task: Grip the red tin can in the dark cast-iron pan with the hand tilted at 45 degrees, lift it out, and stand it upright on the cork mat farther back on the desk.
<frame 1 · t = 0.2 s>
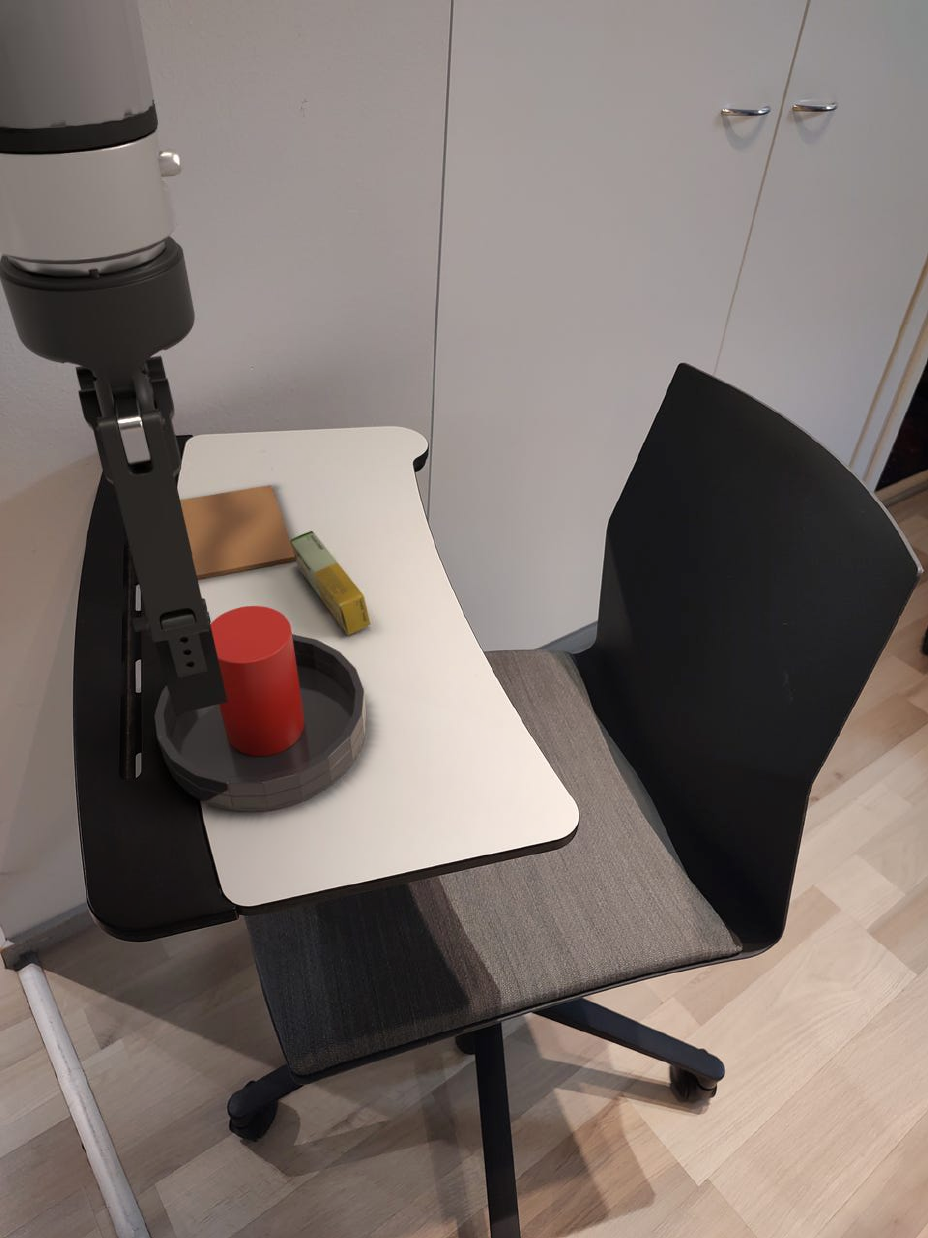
hand: (184, 623, 51), 22 cm above the table, tool pointing down, fingers open, 13 cm apart
pan: (266, 730, 73), on the table
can: (265, 726, 73), resting on pan
mat: (217, 534, 94), on the table
medication box: (331, 600, 86), on the table
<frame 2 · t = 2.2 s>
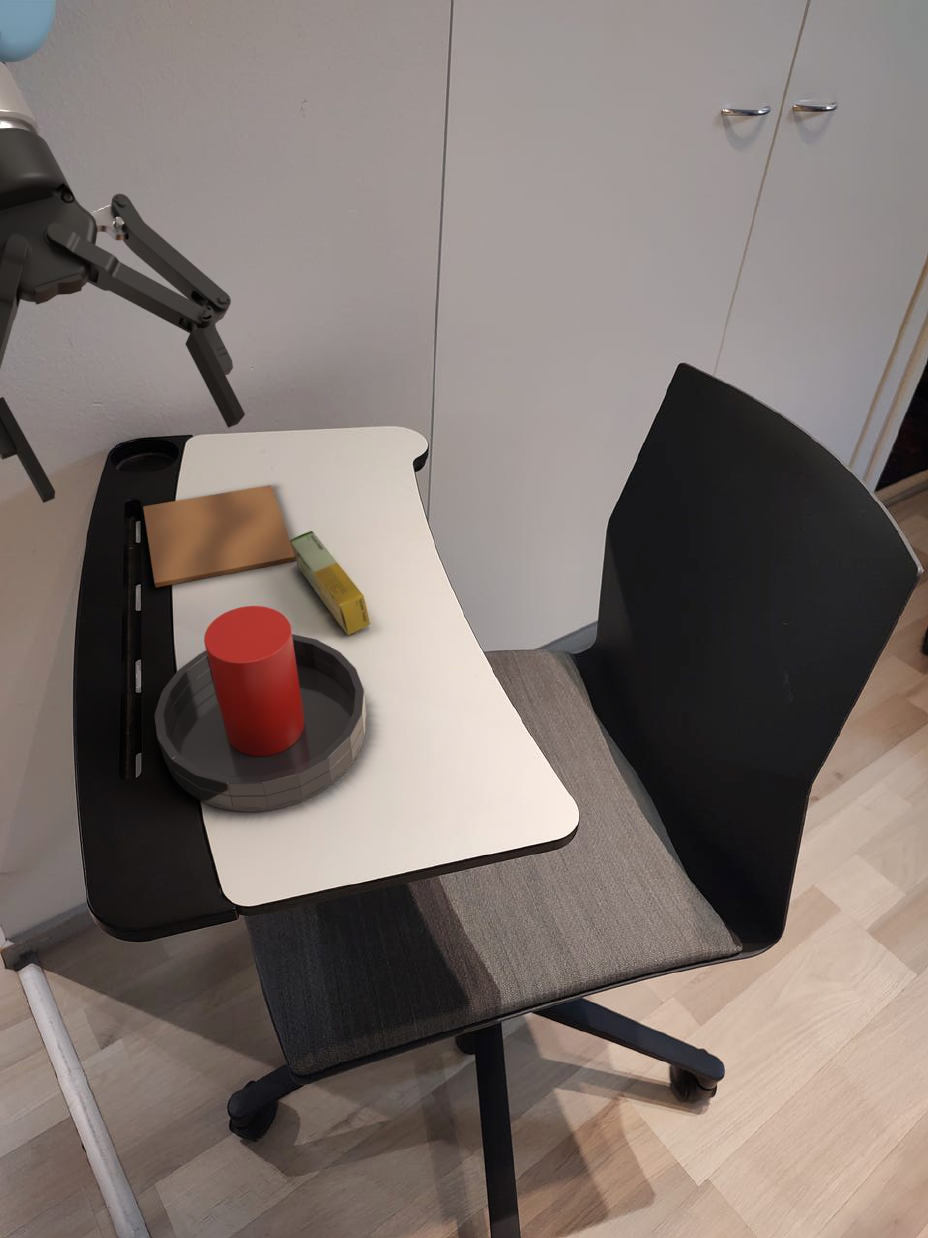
hand: (147, 458, 60), 24 cm above the table, tool tilted 40°, fingers open, 13 cm apart
nothing on the table moved.
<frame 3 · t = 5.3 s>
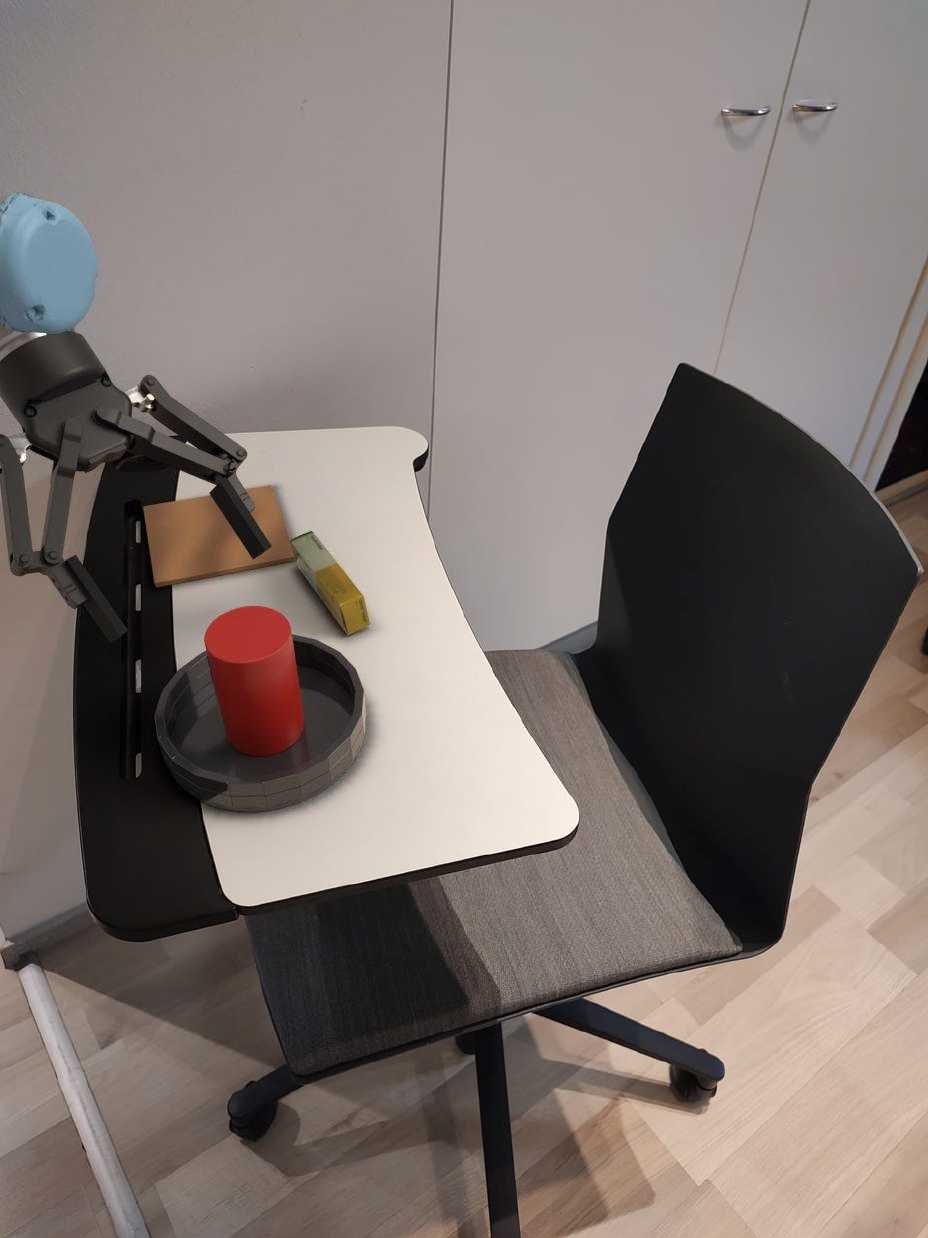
hand: (195, 593, 69), 11 cm above the table, tool tilted 45°, fingers open, 13 cm apart
nothing on the table moved.
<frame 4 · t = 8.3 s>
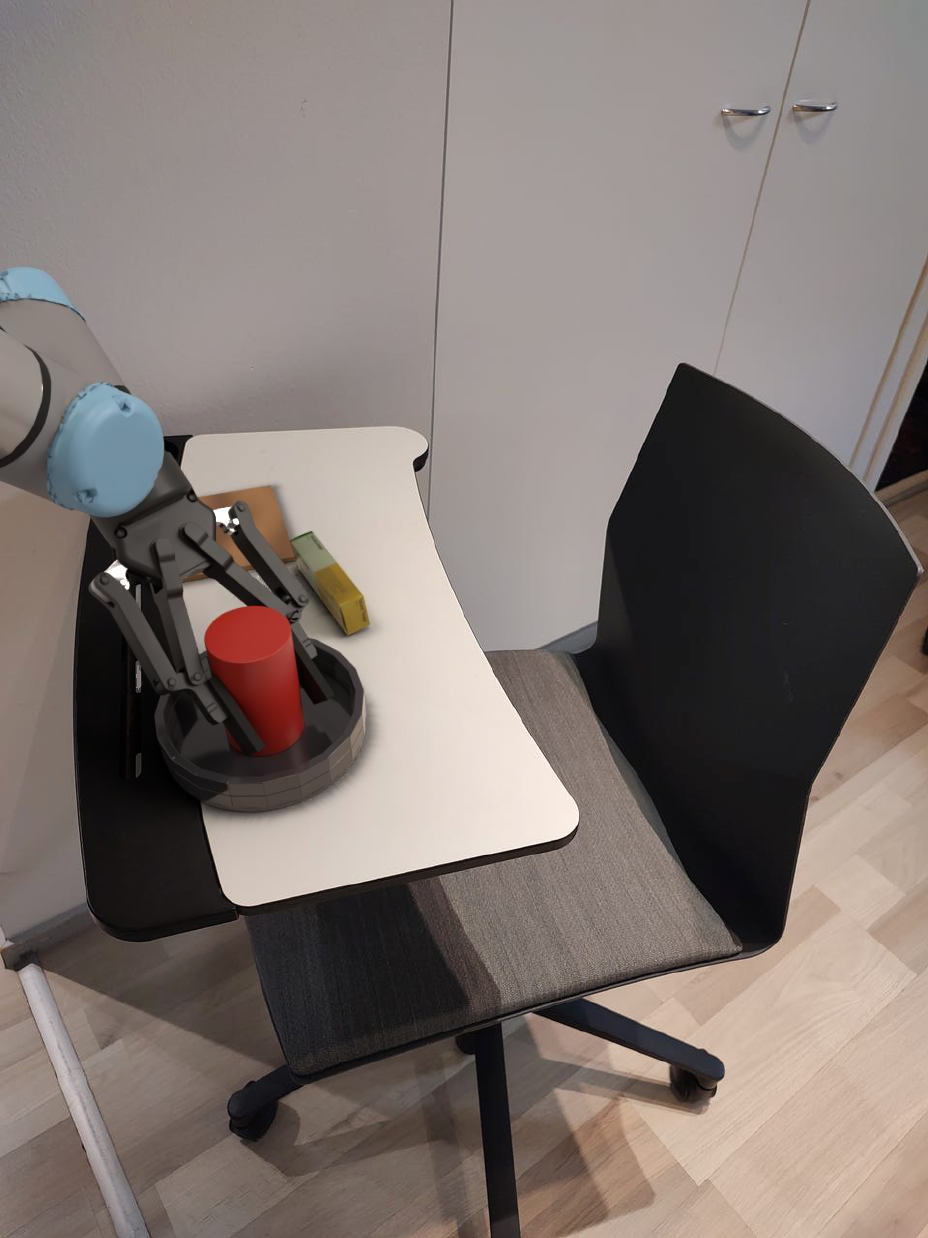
hand: (290, 724, 69), 3 cm above the table, tool tilted 45°, fingers closed on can, 6 cm apart
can: (265, 726, 73), point 1 cm above the table, touching gripper, pan
everything else where it was.
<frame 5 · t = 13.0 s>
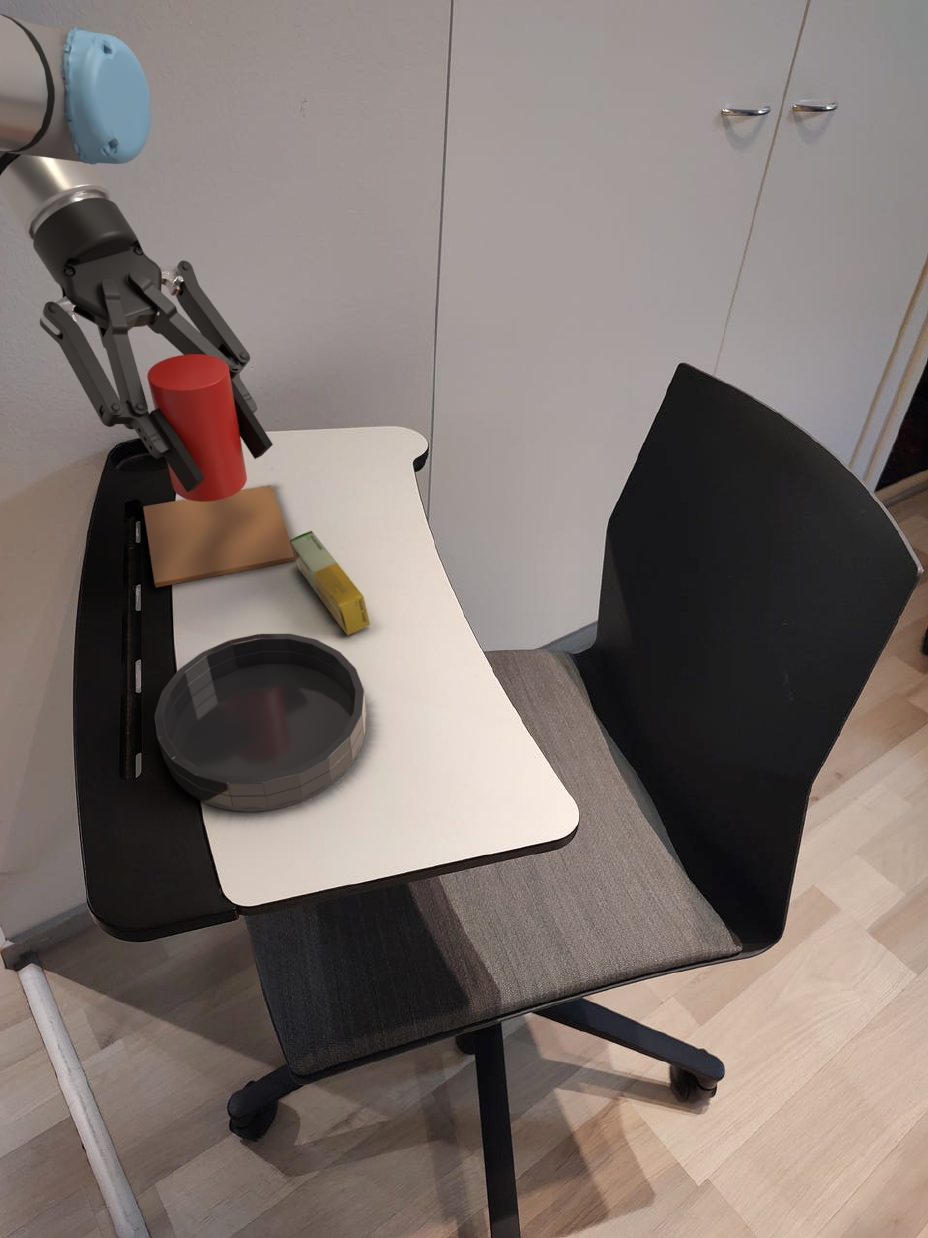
hand: (230, 467, 75), 16 cm above the table, tool tilted 45°, fingers closed on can, 6 cm apart
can: (210, 481, 78), point 13 cm above the table, touching gripper
everything else where it was.
when the fingers open (4 cm above the table, at t = 17.9 s): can stays where it is, resting on mat.
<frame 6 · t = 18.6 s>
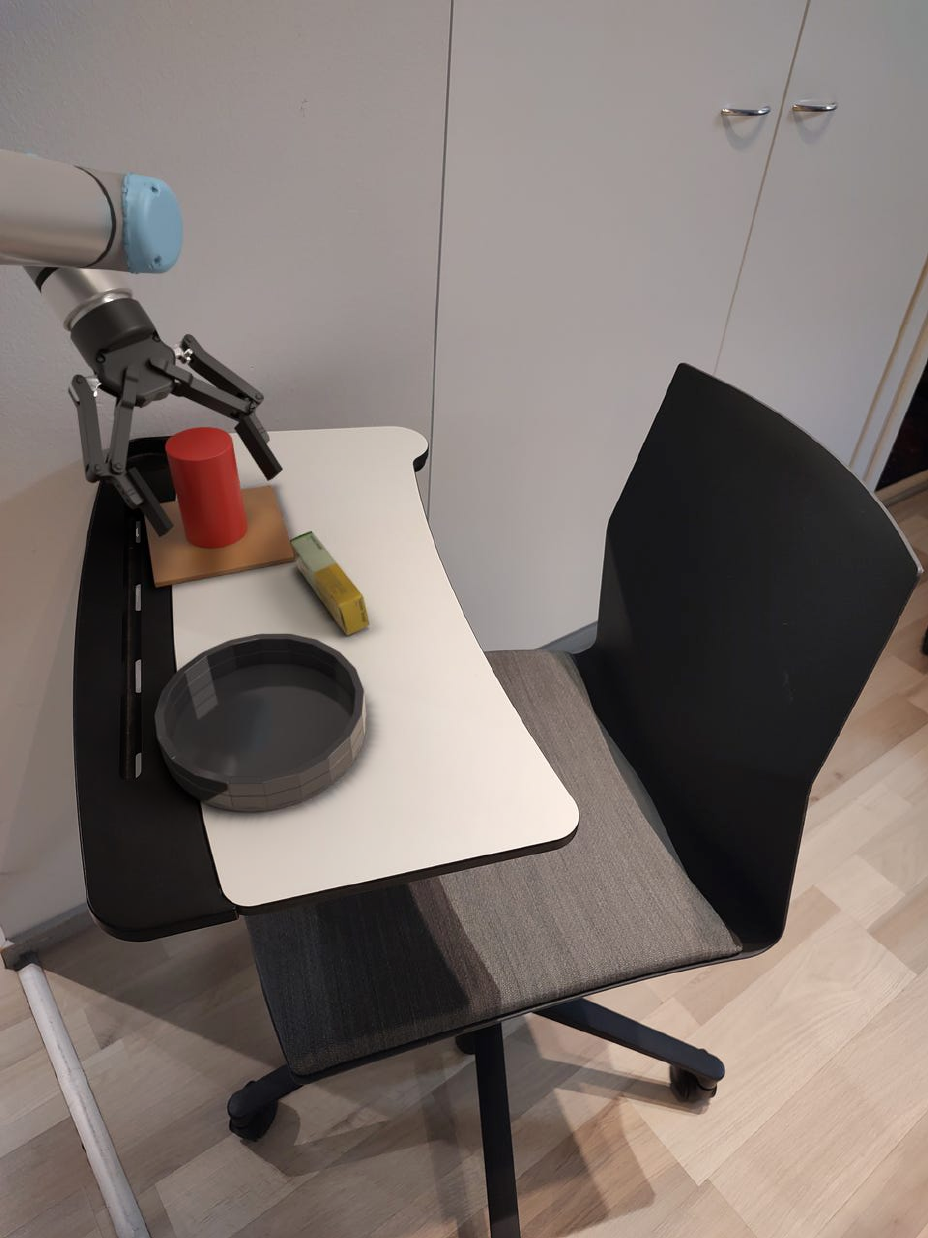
hand: (223, 502, 89), 5 cm above the table, tool tilted 45°, fingers open, 13 cm apart
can: (216, 530, 93), point 1 cm above the table, touching mat
everything else where it was.
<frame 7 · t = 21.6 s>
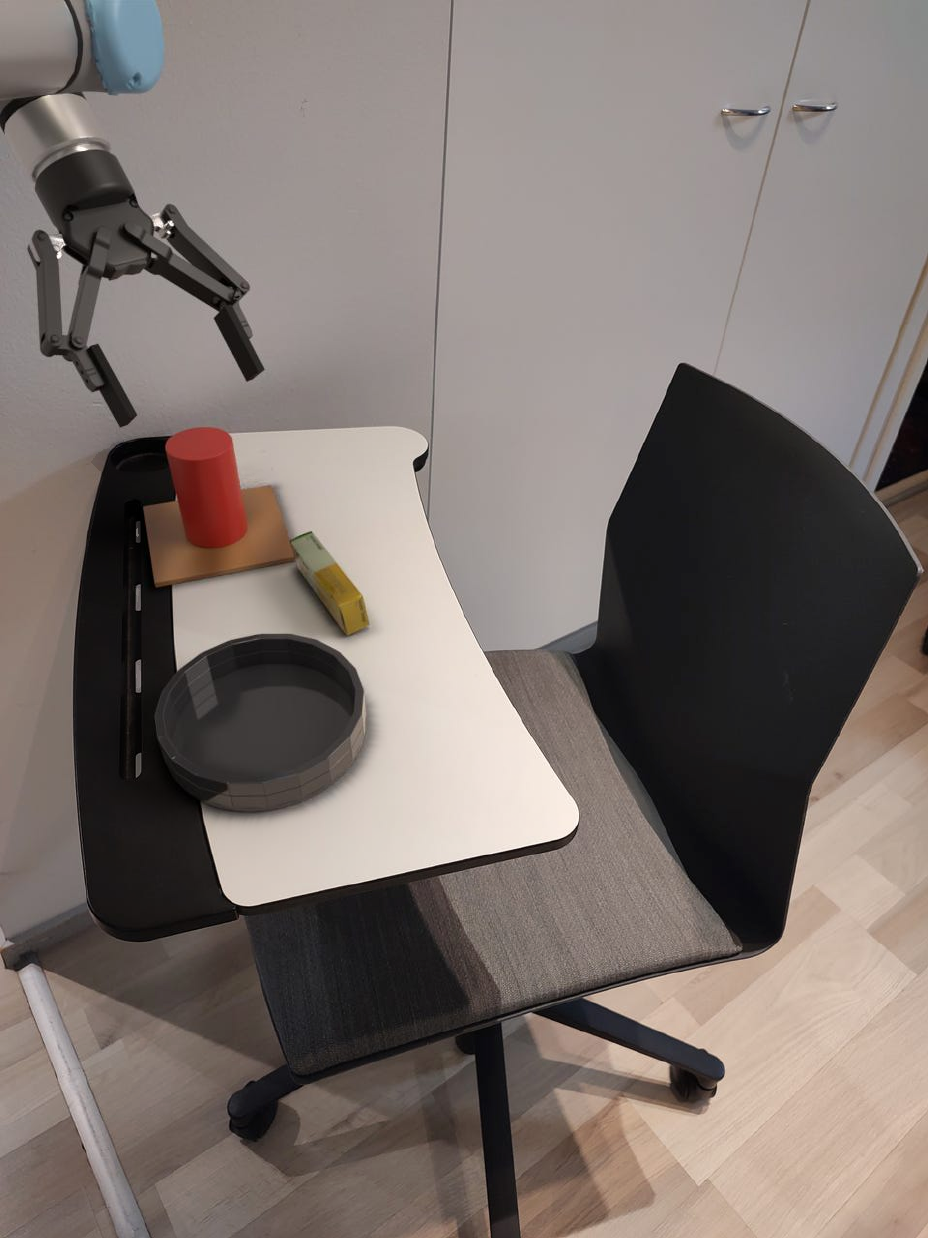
hand: (195, 397, 80), 18 cm above the table, tool tilted 40°, fingers open, 13 cm apart
nothing on the table moved.
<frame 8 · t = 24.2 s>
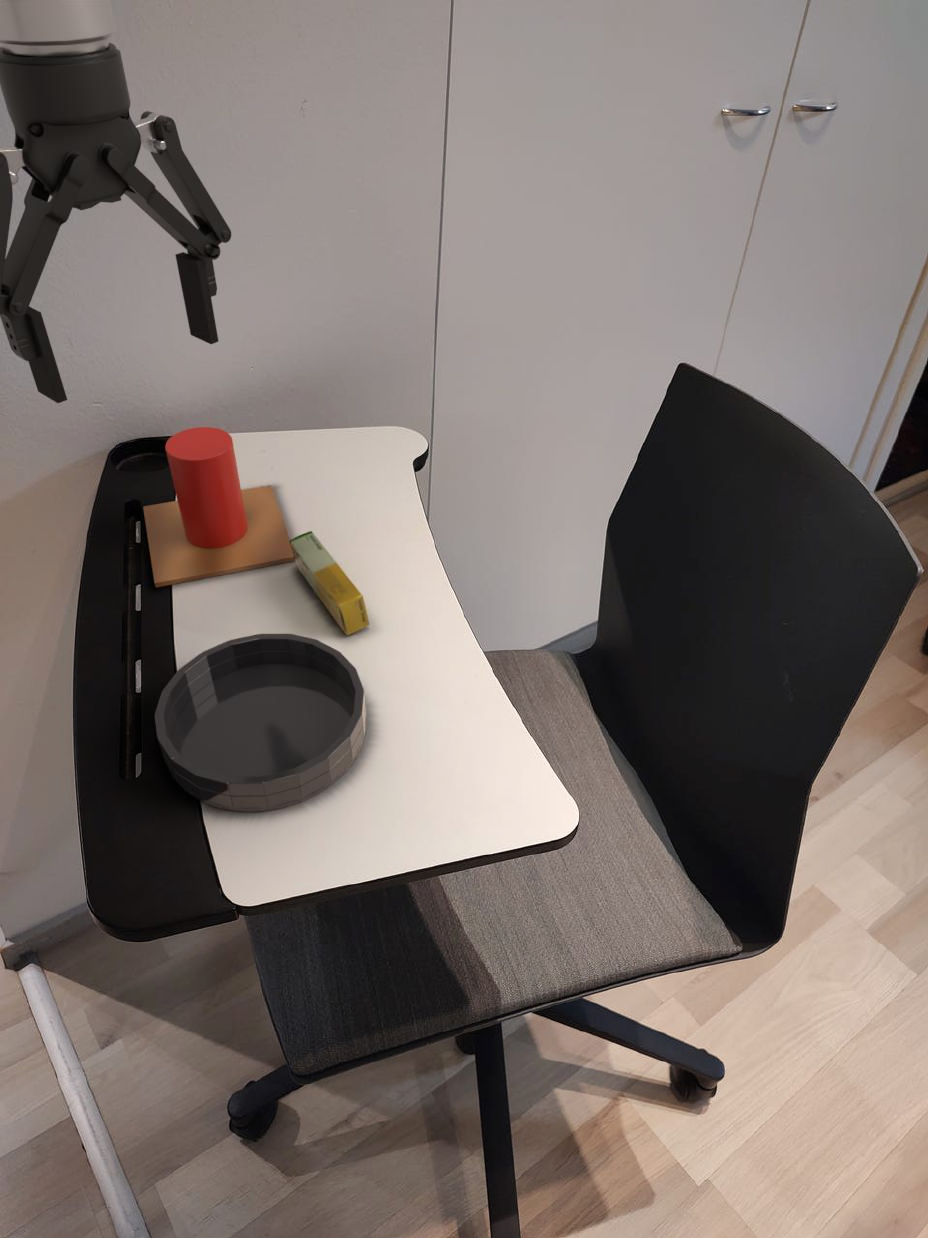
hand: (133, 365, 69), 25 cm above the table, tool pointing down, fingers open, 13 cm apart
nothing on the table moved.
at the end: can inside the target area on the mat (0.0 cm from its centre), point 0.6 cm above the mat's base; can tilted 0°; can touching mat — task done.
